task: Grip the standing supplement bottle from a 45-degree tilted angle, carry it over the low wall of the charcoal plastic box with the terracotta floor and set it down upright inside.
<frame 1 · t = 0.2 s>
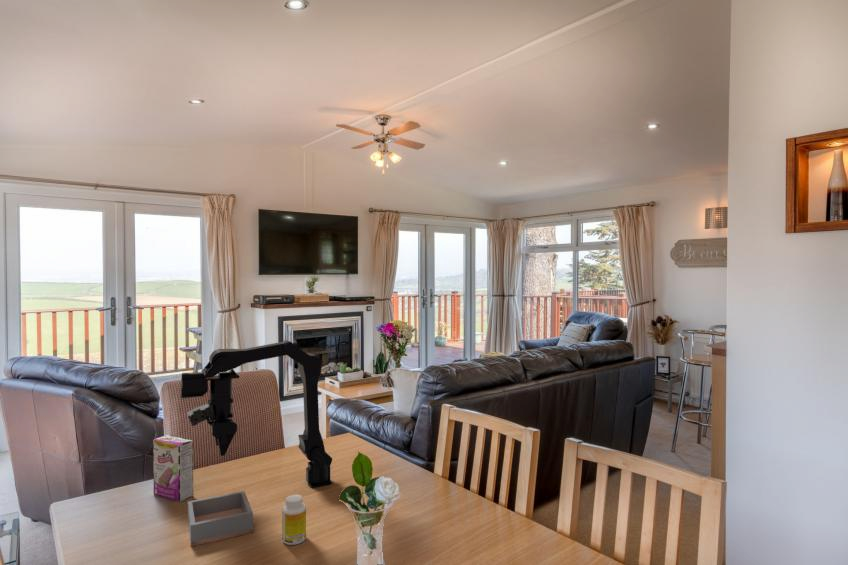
hand: (220, 450, 142), 15 cm above the table, tool pointing down, fingers open, 9 cm apart
supplement bottle: (294, 540, 122), on the table
candy bar box: (173, 496, 146), on the table
walled box: (219, 526, 129), on the table
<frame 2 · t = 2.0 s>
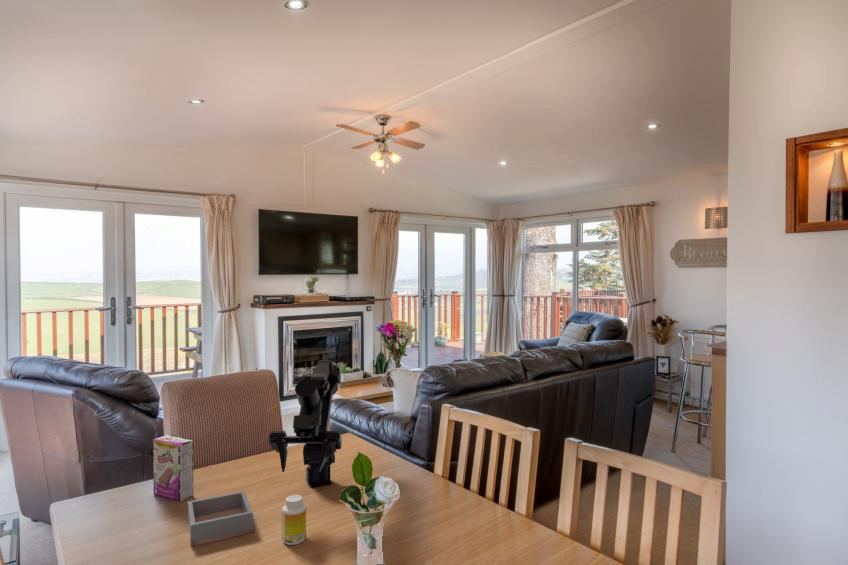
hand: (301, 471, 130), 13 cm above the table, tool tilted 45°, fingers open, 9 cm apart
nothing on the table moved.
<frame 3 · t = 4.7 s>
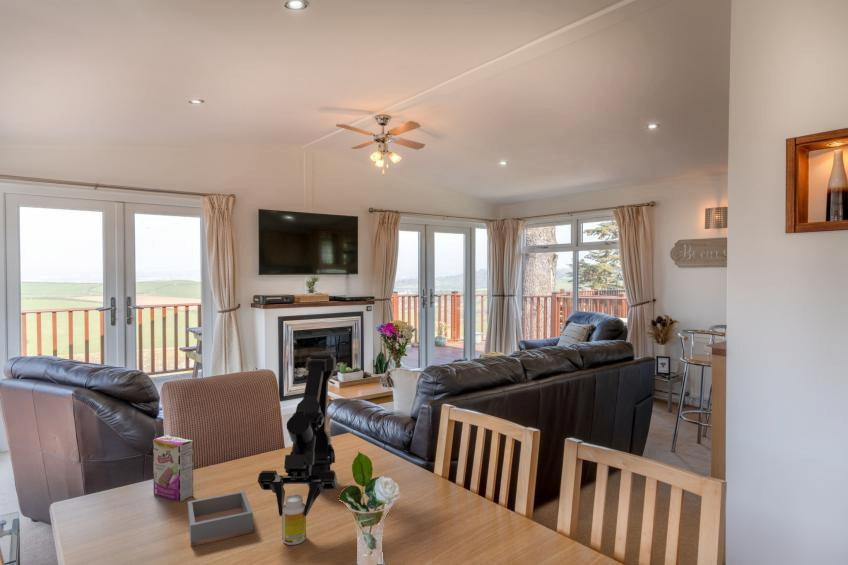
hand: (292, 515, 121), 7 cm above the table, tool tilted 45°, fingers closed on supplement bottle, 6 cm apart
supplement bottle: (294, 540, 122), on the table, touching gripper
everything else where it was.
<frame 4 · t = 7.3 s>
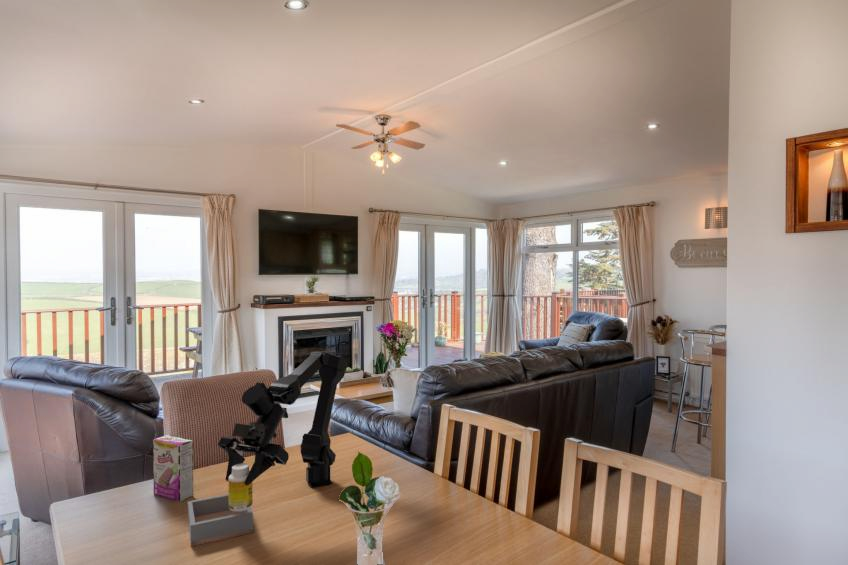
hand: (236, 482, 124), 13 cm above the table, tool tilted 45°, fingers closed on supplement bottle, 6 cm apart
supplement bottle: (240, 508, 125), point 6 cm above the table, touching gripper
everything else where it was.
when the fingers open (9 cm above the table, at t = 9.8 s): supplement bottle drops 1 cm, resting on walled box.
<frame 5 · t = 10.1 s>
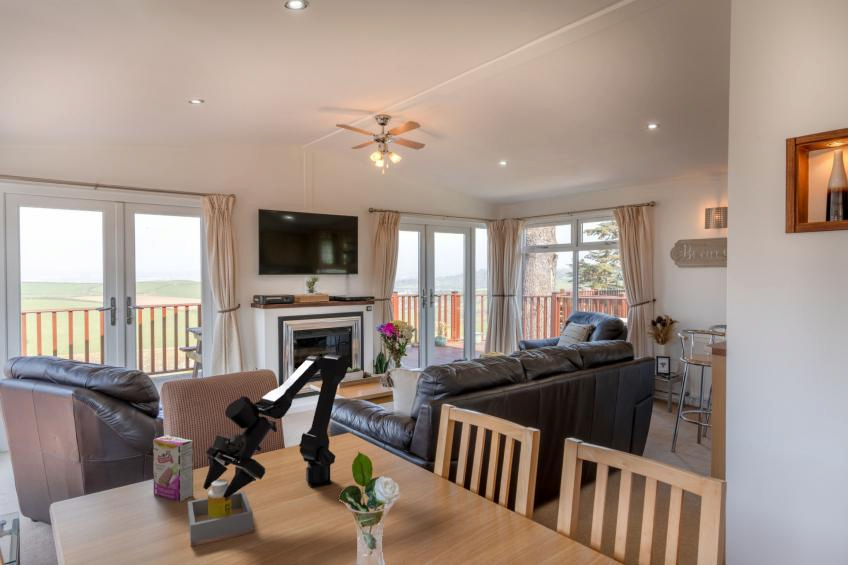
hand: (214, 493, 127), 9 cm above the table, tool tilted 45°, fingers open, 8 cm apart
supplement bottle: (220, 522, 129), point 1 cm above the table, touching walled box
everything else where it was.
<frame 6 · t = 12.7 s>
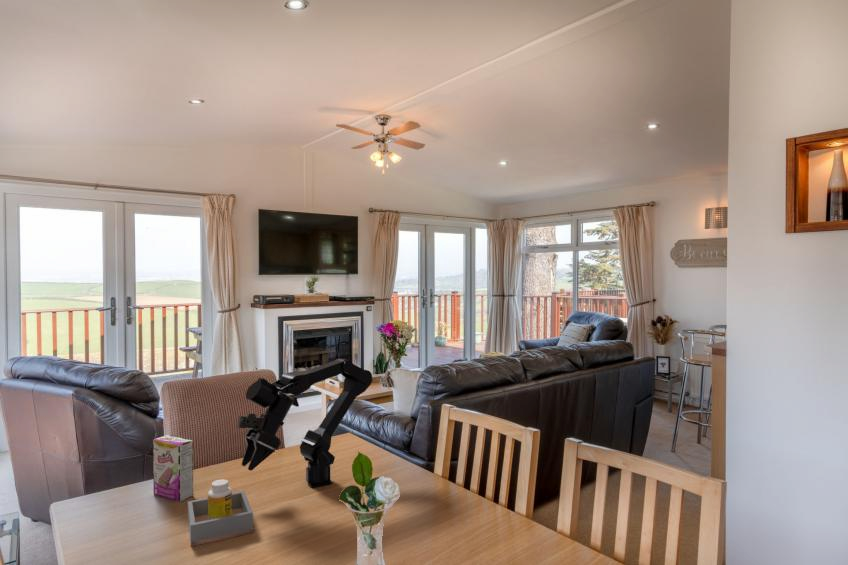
hand: (246, 467, 138), 11 cm above the table, tool tilted 35°, fingers open, 9 cm apart
nothing on the table moved.
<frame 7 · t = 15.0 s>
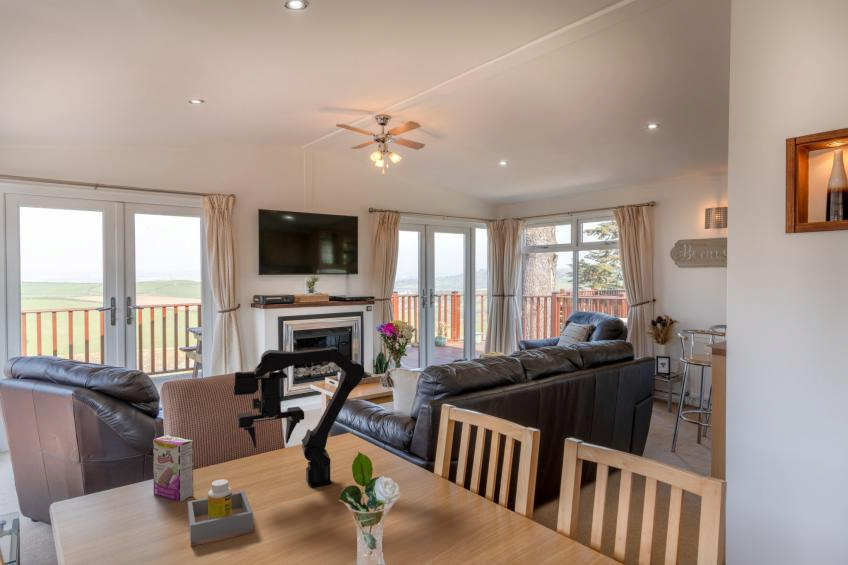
hand: (270, 445, 151), 13 cm above the table, tool pointing down, fingers open, 9 cm apart
nothing on the table moved.
at the end: supplement bottle inside the target area on the walled box (0.1 cm from its centre), point 0.8 cm above the walled box's base; supplement bottle tilted 0°; the gripper is holding nothing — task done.
